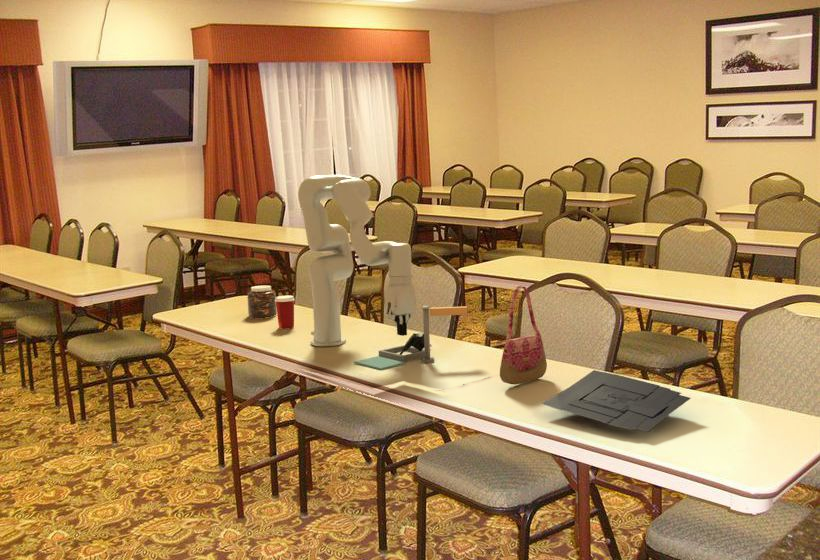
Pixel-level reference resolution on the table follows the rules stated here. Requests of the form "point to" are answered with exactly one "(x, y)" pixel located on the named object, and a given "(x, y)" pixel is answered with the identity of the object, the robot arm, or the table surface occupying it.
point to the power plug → (415, 342)
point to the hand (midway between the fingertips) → (402, 334)
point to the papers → (618, 400)
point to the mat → (379, 363)
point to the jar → (261, 302)
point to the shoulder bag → (522, 351)
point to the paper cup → (285, 311)
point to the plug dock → (416, 353)
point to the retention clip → (448, 311)
